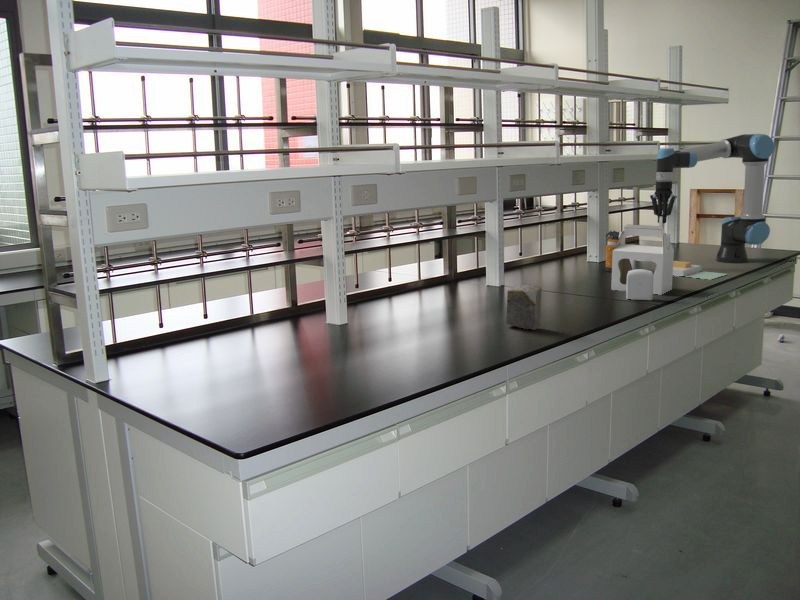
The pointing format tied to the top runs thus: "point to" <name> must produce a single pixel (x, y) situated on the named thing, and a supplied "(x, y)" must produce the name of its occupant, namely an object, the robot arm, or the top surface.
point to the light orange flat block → (681, 264)
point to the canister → (610, 248)
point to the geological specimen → (524, 307)
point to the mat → (706, 275)
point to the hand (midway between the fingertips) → (661, 229)
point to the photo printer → (639, 285)
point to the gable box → (643, 258)
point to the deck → (686, 270)
